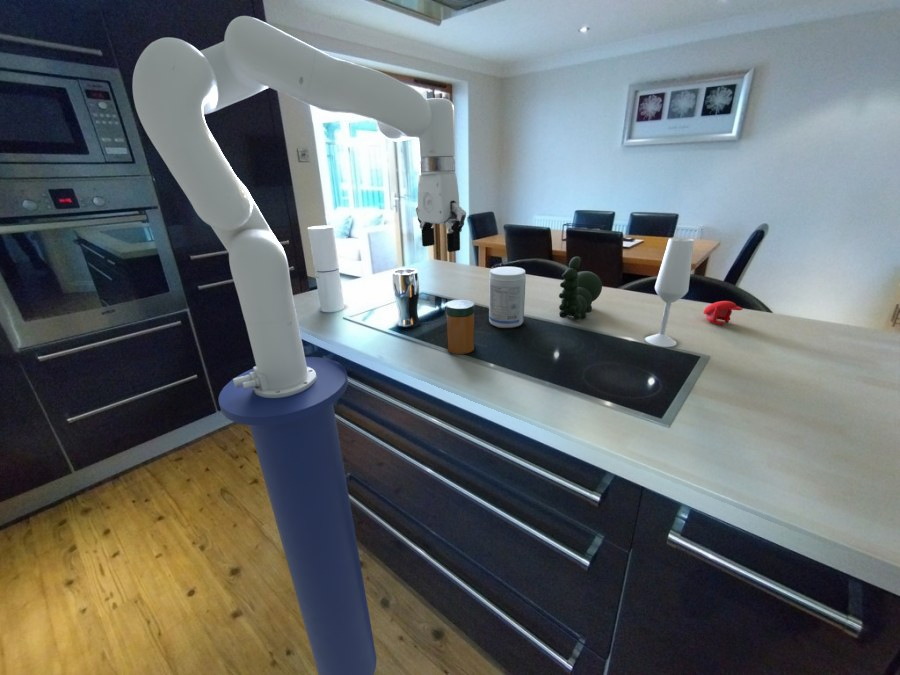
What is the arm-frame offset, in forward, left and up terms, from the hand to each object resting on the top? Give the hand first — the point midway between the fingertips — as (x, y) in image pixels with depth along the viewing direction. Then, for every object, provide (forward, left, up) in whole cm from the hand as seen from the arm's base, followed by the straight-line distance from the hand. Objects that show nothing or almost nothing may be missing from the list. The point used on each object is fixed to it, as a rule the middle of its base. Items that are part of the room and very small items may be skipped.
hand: (440, 248), depth 89 cm
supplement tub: (+20, -2, -23) cm, 30 cm away
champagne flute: (+39, -35, -23) cm, 57 cm away
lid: (0, -7, -12) cm, 14 cm away
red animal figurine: (+62, -39, -23) cm, 77 cm away
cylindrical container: (-12, +43, -23) cm, 50 cm away
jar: (0, -7, -23) cm, 24 cm away
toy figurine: (+41, -10, -23) cm, 48 cm away
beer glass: (-1, +15, -23) cm, 27 cm away
